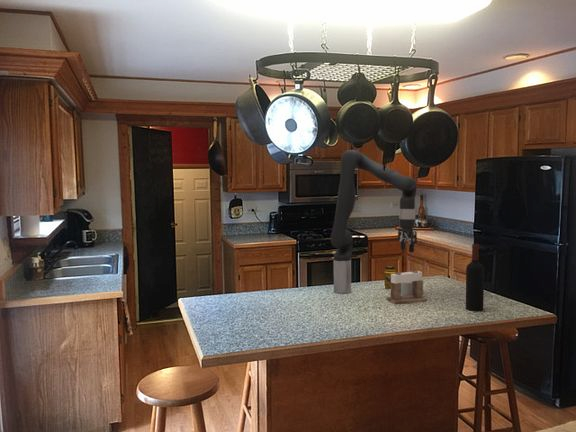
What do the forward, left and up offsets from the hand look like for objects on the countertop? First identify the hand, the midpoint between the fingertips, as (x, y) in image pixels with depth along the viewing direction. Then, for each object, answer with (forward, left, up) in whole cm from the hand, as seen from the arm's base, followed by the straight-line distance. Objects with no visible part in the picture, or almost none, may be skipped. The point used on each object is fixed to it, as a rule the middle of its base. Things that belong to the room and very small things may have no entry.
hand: (407, 250), depth 236 cm
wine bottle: (+25, +21, -25) cm, 41 cm away
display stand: (+1, 0, -25) cm, 25 cm away
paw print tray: (-12, +8, -25) cm, 29 cm away
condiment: (-25, +4, -25) cm, 36 cm away
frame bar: (+1, 0, -15) cm, 15 cm away
